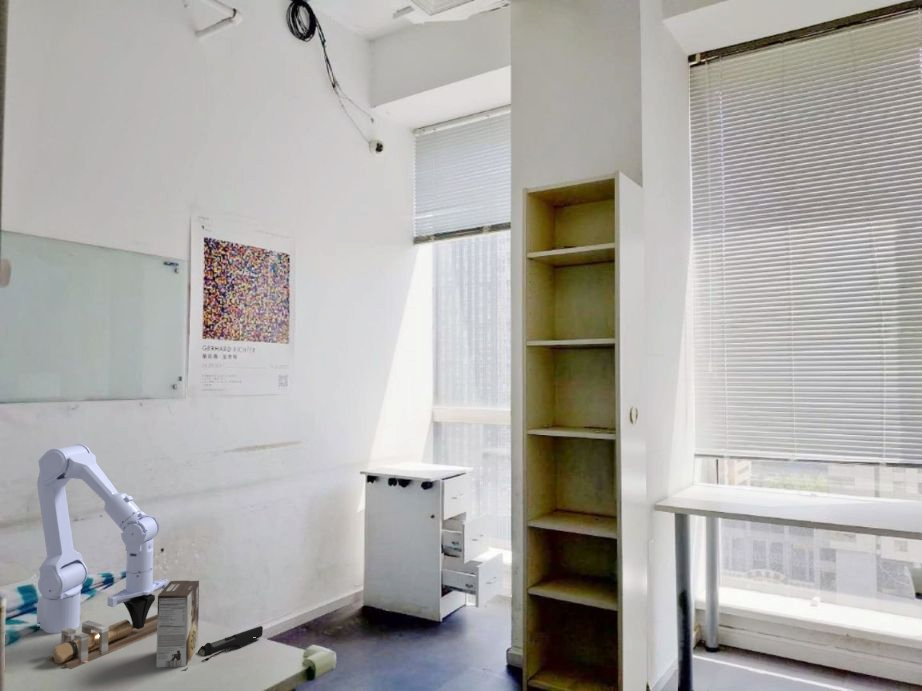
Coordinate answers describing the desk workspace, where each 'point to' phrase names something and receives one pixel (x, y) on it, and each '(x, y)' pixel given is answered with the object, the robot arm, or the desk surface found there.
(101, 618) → the desk surface
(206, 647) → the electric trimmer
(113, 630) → the thermos bottle
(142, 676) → the desk surface
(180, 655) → the coffee box
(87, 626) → the board
